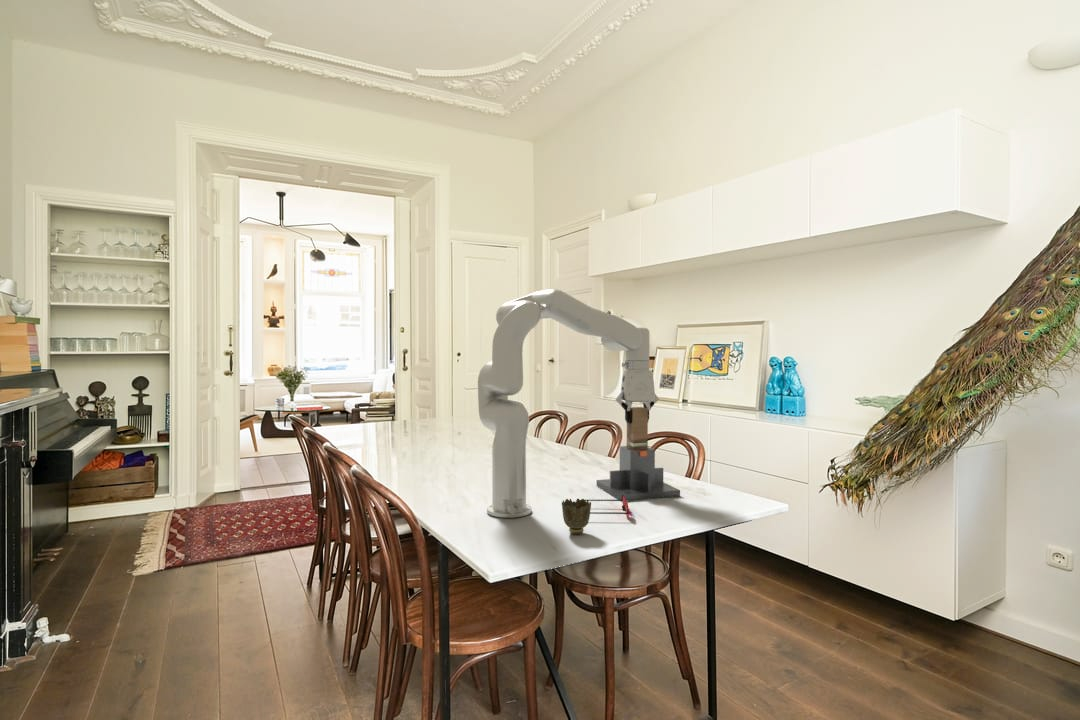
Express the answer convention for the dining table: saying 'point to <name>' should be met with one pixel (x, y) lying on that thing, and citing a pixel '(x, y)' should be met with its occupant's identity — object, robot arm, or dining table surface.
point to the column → (638, 429)
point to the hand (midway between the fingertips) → (637, 422)
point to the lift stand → (637, 477)
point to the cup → (576, 515)
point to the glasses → (625, 505)
